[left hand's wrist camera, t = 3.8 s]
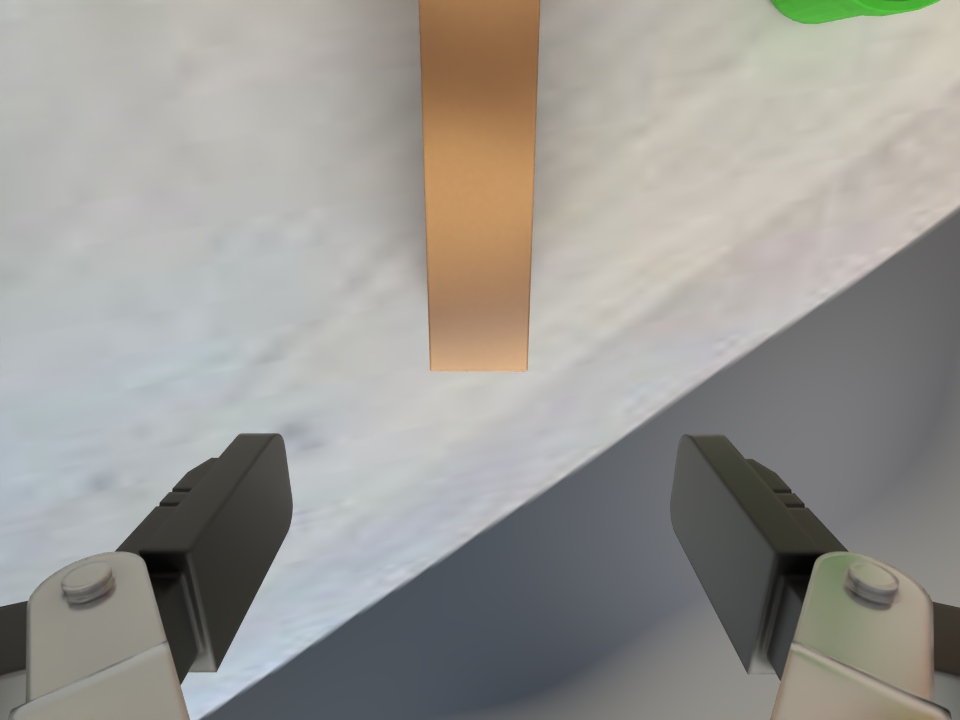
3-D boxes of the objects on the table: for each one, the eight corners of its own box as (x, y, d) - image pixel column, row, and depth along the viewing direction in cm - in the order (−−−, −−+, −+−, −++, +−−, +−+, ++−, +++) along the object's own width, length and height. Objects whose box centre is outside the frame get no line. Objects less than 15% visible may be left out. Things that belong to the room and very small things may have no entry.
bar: (514, 316, 34) (527, 371, 25) (442, 316, 34) (430, 371, 25) (527, -201, 26) (553, -391, 17) (431, -202, 26) (406, -392, 17)
